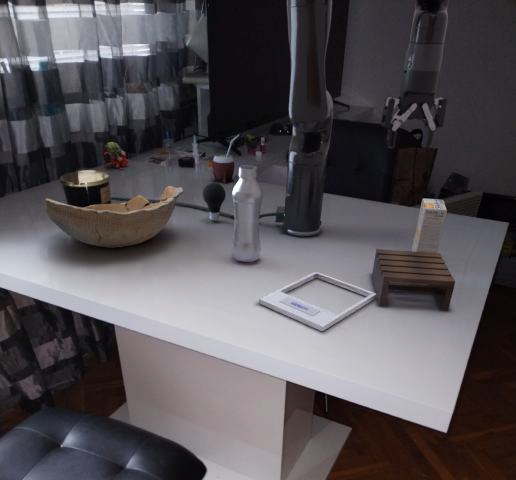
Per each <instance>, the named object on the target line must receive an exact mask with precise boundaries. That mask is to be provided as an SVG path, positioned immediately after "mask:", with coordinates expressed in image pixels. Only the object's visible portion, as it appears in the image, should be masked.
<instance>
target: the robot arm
mask: <svg viewBox="0 0 516 480" xmlns="http://www.w3.org/2000/svg"><path fill="white" fill-rule="evenodd" d="M414 3H415V4H414V13H413V17H412V18H413V19H412V22H411V28H410V34H409V40H408V45H407V49H406V52H405V57H404V63H403V70H402V77H401V83H400V88H399V90H400V91H399V92H400V93H399V97H398V98H394V97H390V96H387V97H385V99H384V103H383V108H382V114H381V119H380V126H381V127H382V128H384V129H387V134H386V142H385V144H386V146H387V148H388V149H391V150H394V149H395V147H396V143H397V142H396V141H397V137H398V131H397V130H398V129H399V128H400V126H402V124H404V123H405V122H406V121H407V120H409V121H412V120H418V121H421V122H422V123H423V126H424V127H425V129H423V135H422V140H421V147H422V148H423V149H424V148H425V149H428V148H429V147H430V146H431V145H432V142H433V136H434V131H435V130H436V129H438V128H440V129H441V128H442V127H444V124H445V123H444V122H445V117H446V112H447V111H446V110H447V105H448V104H447V103H448V99H447V98H445V97H441V96H439V97H437V98H435V95H436V92H437V87H438V82H439V77H440V71H441V68H442V67H441V66H442V61H443V56H444V55H443V54H444V46H445V45H444V43H445V39H446V34H447V28H448V22H449V15H448V8H449V3H450V0H415V2H414ZM286 14H287V31H288V43H289V44H288V45H289V56H290V80H289V95H288V117H289V121H290V123H291V124H292V132H291V140H290V143H289V147H288V152H287V171H286V184H285V185H286V187H285V195H284V206H281V205H277V206H276V211H275V212H267V213H262V214H261V213H260V217H259V220H260V219H261V218H265V217H275V223H283V227H282V233H283V234H288V235H291V236H296V237H313V236H317V235H319V234H320V233H321V226H322V211H323V202H324V193H325V192H324V191H325V181H326V171H327V163H328V162H327V161H328V153H329V150H330V143H331V137H332V136H331V135H332V126H333V119H334V100H333V97H332V95H331V94H330V92H329V91H328V90H327V83H326V82H327V81H326V54H327V49H328V44H329V38H330V31H331V24H332V23H331V22H332V14H333V0H286ZM397 107H398V110H397V111H396V112H395V114H394V110H395V109H396V108H397ZM433 107H434V115H432V113H431V109H432V108H433ZM393 114H394V115H393ZM133 198H134V197H128V196H120V195H109V199H113V200H114V199H115V200H123V201H129V200H131V199H133ZM146 199H147V200H148V201H149V202H150V203H159V202H160V201H161V199H155V198H146ZM176 205H177V206H183V207H190V208H194V209H200V210H203V211H208V212H209V209H208V206H203V205H197V204H194V203H193V204H192V203H187V202H181V201H176V204H175V206H176ZM219 216H224V217H227V218H232V219H235V217H234V214H231V213H227V212H224V211H221V210H220V212H219Z"/></svg>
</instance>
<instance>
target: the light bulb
mask: <svg viewBox="0 0 516 480" xmlns="http://www.w3.org/2000/svg"><path fill="white" fill-rule="evenodd" d="M202 199H203V201H204V203H205V204H206V205H207V208H208V209H209V211H208V212H209V219H210V220H211V221H212V222H214V223H215V222H217V221H218V220H219V219H220V214H219V212H220V211H221V207H222V205H223V203H224V202H225V200H226V190H225V188H224V187H223V185H222V184H220V183H218V182H210V183H207V184H206V185H205V186H204V188H203V190H202Z"/></svg>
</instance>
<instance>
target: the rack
mask: <svg viewBox="0 0 516 480" xmlns="http://www.w3.org/2000/svg"><path fill="white" fill-rule="evenodd" d="M371 277H372V281H373V285H374V290H375V293H376V294H377V295H376V299H377V303H378V306H382V307H385V306H386V305H387V298H388V293H389V291H397V292H412V293H424V294H425V293H427V294H434V296H435V299H436V301H437V303H438V305H439V307H440V309H441V311H449V308H450V305H451V301H452V297H453V294H454V290H455V285H456V280H455V278H454V276H452V273H451V271H450V270H449V267H448V266H447V264H446V262H445V260H444V258H443V256H442V255H441V253H440V252H437V253H429V252H413V251H412V250H396V249H395V250H394V249H381V248H376V249H375V254H374V261H373V267H372V273H371Z"/></svg>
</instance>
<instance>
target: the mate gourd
mask: <svg viewBox="0 0 516 480" xmlns="http://www.w3.org/2000/svg"><path fill="white" fill-rule="evenodd" d="M239 137H240V134H238V135H236V136H235V137H233V138H232V139H231V140H230V142H229V147H228V149H227V153H220V154H216V155H214V157H213V159H212V174H213V178H214V179H213V183H218V182H222V183H223V184H224V185H225V184H227V182H234V179H233V177H234V173H235V160H234V158H233V156H232V155H231V154H230V151H231V148H232V145H233V144H234V141H235V140H236V139H237V138H239Z"/></svg>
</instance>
